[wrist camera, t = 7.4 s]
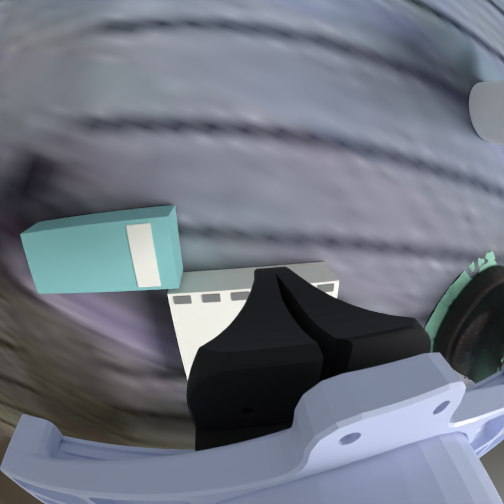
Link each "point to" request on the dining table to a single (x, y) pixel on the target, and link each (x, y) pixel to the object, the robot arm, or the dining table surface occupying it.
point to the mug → (488, 110)
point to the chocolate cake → (472, 322)
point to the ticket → (225, 301)
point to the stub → (106, 251)
